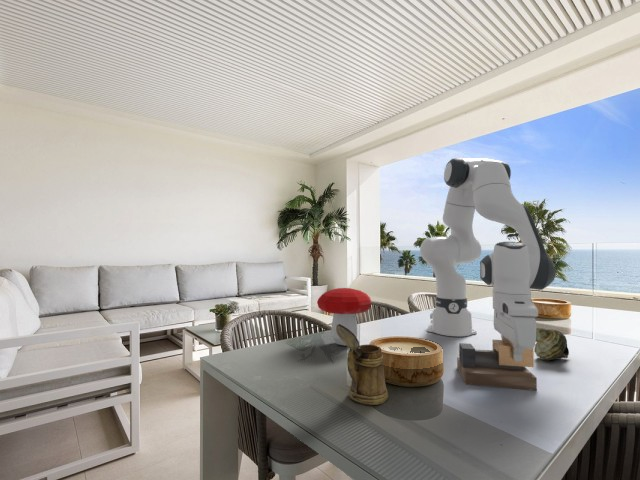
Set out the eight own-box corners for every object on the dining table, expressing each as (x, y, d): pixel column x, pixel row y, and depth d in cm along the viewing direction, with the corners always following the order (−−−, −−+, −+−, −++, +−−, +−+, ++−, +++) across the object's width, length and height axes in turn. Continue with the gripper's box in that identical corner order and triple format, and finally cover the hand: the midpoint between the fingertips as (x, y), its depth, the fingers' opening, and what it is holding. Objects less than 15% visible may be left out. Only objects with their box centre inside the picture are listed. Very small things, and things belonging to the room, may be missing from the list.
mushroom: (379, 341, 123) (379, 287, 124) (361, 356, 107) (361, 293, 107) (330, 335, 132) (330, 284, 133) (307, 347, 116) (307, 289, 116)
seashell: (585, 368, 96) (584, 332, 96) (541, 365, 98) (540, 330, 99) (566, 356, 106) (565, 324, 107) (526, 354, 109) (525, 323, 109)
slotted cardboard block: (492, 357, 91) (492, 339, 92) (526, 360, 90) (526, 341, 90) (499, 365, 86) (498, 345, 86) (535, 367, 84) (534, 347, 84)
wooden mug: (325, 400, 76) (325, 320, 76) (368, 385, 84) (368, 313, 84) (352, 416, 69) (352, 327, 69) (396, 398, 77) (395, 319, 77)
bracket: (457, 367, 96) (456, 339, 96) (518, 372, 93) (518, 343, 93) (465, 384, 85) (465, 352, 85) (536, 390, 81) (536, 356, 81)
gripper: (487, 297, 99) (488, 344, 99) (511, 310, 79) (512, 369, 79) (510, 297, 98) (511, 345, 97) (541, 311, 78) (542, 371, 77)
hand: (512, 356), depth 88 cm, fingers closed on slotted cardboard block, 6 cm apart
